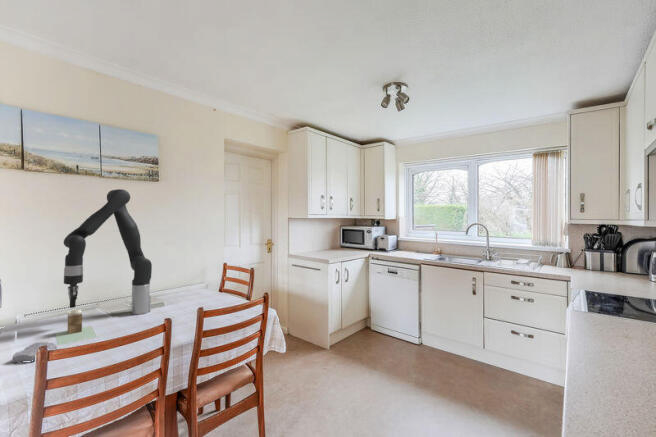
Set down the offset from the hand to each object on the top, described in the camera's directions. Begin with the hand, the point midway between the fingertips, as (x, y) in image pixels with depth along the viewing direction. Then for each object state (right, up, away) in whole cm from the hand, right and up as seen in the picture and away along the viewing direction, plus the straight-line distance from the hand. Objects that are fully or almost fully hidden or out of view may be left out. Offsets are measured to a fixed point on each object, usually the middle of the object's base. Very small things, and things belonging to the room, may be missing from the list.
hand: (72, 307), depth 155 cm
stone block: (+9, -13, -29) cm, 33 cm away
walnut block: (+6, -11, -5) cm, 13 cm away
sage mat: (+9, -12, -9) cm, 17 cm away
